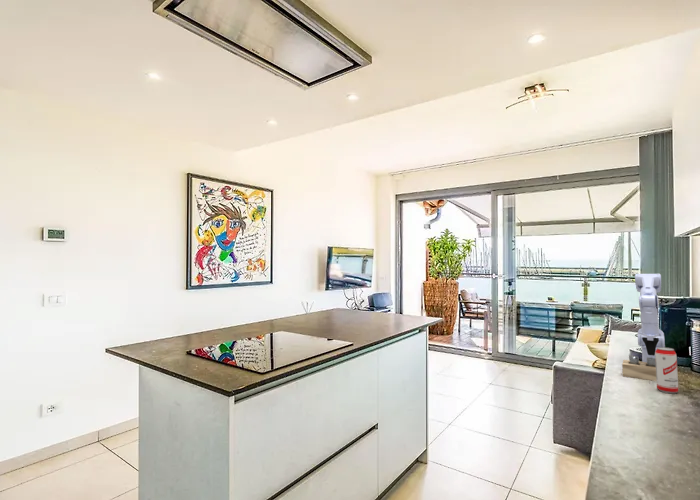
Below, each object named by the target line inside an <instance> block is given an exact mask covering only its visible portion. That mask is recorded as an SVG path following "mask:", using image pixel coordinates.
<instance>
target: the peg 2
mask: <svg viewBox="0 0 700 500" xmlns="http://www.w3.org/2000/svg"><path fill="white" fill-rule="evenodd" d="M647 366H652V367H656V361H655V358H649V357H648V358H647Z"/></svg>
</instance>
